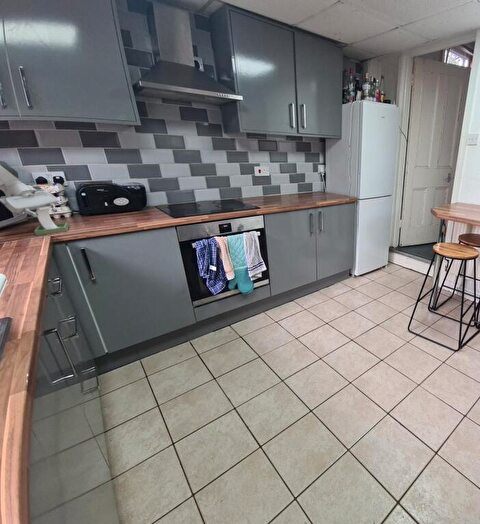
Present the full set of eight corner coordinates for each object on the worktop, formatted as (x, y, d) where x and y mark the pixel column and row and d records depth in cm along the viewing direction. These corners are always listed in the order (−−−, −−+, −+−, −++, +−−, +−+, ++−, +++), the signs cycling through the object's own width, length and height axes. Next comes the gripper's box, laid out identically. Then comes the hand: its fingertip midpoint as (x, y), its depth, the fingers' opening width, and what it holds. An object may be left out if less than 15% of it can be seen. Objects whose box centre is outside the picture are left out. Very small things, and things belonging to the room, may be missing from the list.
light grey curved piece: (49, 231, 149) (39, 208, 144) (42, 230, 151) (32, 207, 146) (60, 229, 153) (50, 206, 148) (54, 227, 155) (44, 205, 150)
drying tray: (35, 235, 145) (33, 231, 144) (39, 229, 153) (37, 225, 152) (66, 231, 151) (65, 227, 151) (68, 225, 160) (67, 222, 159)
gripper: (-3, 193, 135) (25, 214, 138) (45, 186, 154) (68, 205, 157) (-6, 202, 137) (21, 223, 140) (41, 194, 156) (64, 213, 159)
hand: (46, 213), depth 149 cm, fingers open, 8 cm apart
